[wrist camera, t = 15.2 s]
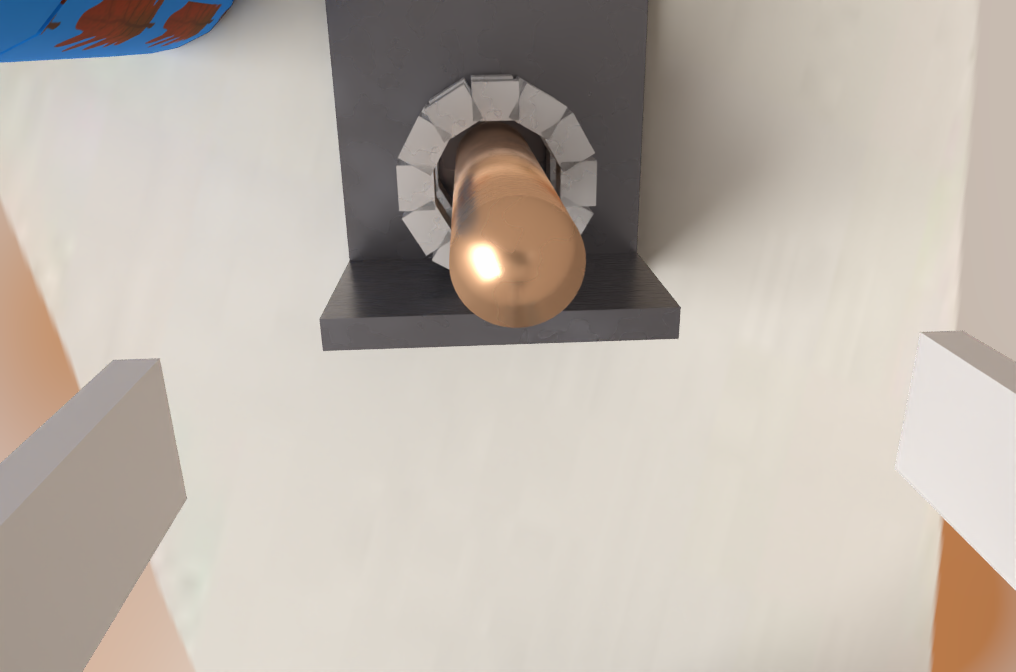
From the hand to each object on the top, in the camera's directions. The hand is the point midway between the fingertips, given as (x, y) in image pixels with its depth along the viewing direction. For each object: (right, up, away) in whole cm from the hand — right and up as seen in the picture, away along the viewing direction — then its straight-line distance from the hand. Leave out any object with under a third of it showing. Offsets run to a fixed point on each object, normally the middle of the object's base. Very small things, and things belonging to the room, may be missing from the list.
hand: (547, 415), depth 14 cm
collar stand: (-2, +11, +29) cm, 31 cm away
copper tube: (-1, +11, +28) cm, 30 cm away
